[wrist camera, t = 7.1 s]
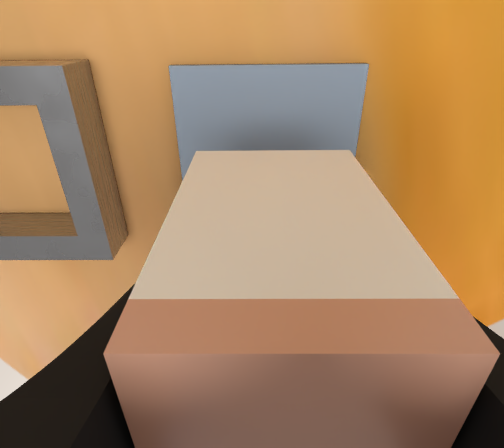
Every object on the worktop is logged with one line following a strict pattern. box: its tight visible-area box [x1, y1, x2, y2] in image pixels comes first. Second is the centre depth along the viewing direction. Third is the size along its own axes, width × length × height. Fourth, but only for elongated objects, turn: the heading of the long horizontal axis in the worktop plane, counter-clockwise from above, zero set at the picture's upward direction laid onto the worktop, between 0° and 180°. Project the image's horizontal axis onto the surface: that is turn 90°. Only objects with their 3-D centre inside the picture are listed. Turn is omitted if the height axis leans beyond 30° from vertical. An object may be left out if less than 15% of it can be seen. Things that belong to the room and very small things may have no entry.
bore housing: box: [0, 60, 128, 260], centre depth 17 cm, size 10×10×2 cm
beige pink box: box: [103, 150, 500, 448], centre depth 9 cm, size 5×5×8 cm
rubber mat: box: [169, 63, 369, 181], centre depth 18 cm, size 9×9×1 cm
